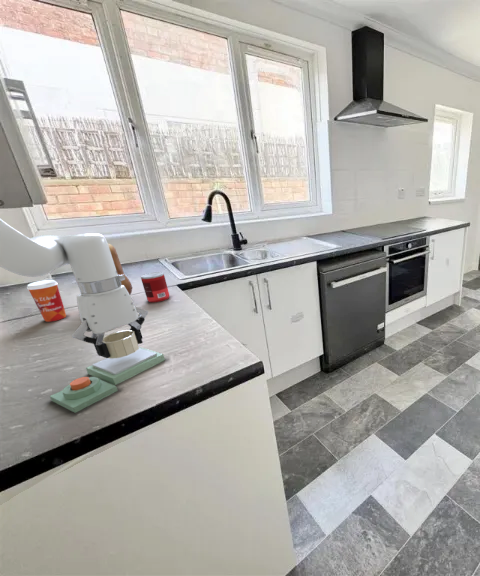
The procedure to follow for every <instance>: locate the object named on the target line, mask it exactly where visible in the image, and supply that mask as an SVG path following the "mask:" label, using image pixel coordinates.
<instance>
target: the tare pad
mask: <svg viewBox="0 0 480 576" xmlns="http://www.w3.org/2000/svg"><path fill="white" fill-rule="evenodd" d="M88 377H89V376H88ZM89 379H90V382H91V384H90V385H89V386H87V387H85V388H83V389H80V390H74V391H73V390H72V388H71V386H70V383H69V384H68V385H67V386H65V387H64V388H63V389H62V390H59V391H57V392H55V393H54V394H51V395H49V398H50V401H51V402H53V403H55V404H56V405H59V406H61V407H63V408H65V409H67V410H68V411H71V413H72V412H73V413H75V414H76V413H78V412H80V411H82V410H83V409H86V408H87V407H89V406H91V405H93V404H95V403H98V402H99V401H101V400H102V399H104V398H106V397H108V396H111V395H113V394H114V393H117V392H118V387H117V386H116V385H114V384H111V383H109V382H106V381H104V380H101V379H99V378H96V377H94V376H90V377H89Z"/></svg>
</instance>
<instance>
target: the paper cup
mask: <svg viewBox="0 0 480 576" xmlns="http://www.w3.org/2000/svg"><path fill="white" fill-rule="evenodd" d="M58 285H59V282H57V281H56V280H55V279H43V280H36V281H33V282H30V283H29V284H27V285H26V286H27V287H26V290H28V292H29V293H30V295H31V297H32V300H33V301H34V303H35V305H36V307H37V309H38V311H39V313H40V314H41V317H42V319H43V320H44V321H45V322H47V323H49V322H50V323H51V322H56V321H60V320H63V319H65V318H66V317H67V314H66V310H65V306H64V302H63V299H62V296H61V293H60V289H59V286H58Z"/></svg>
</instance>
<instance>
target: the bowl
mask: <svg viewBox="0 0 480 576" xmlns="http://www.w3.org/2000/svg"><path fill="white" fill-rule="evenodd" d="M103 343H106V345H107V348H108V351H109V354H110V357H109V358H110V359H112V358H120V357H124V356H127V355H130V354H132V353H134V352H136V351H137V350H138V349H139V347H140V344H138V341H137V337H136V334H135V331H132V330H130V329H126V330H125V329H124V330H119V331H115V332H112V333H109V334H106V335H104V338H103Z"/></svg>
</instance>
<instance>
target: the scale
mask: <svg viewBox="0 0 480 576" xmlns="http://www.w3.org/2000/svg"><path fill="white" fill-rule="evenodd" d="M164 361H166V359H165V355H164V353H160V352H158V351H155V350H151V349H148V348H145V347H142V346H139V349H138V350H137V351H136V352H134V353H132V354H130V355H127V356H124V357H120V358H112V359H110V358H104V359H102V360H100V361H97V362H95V363H92V364H91V365H90V366H86V367H85V369H86V372H87V374H88V375H89V376H90V377H96V378H99V379H100V380H102V381H105V382H107V383H110V384H112V385H115V386H116V385H119V384H121V383H123V382H125V381H126V380H129V379H130V378H132V377H135V376H136V375H139V374H141V373H142V372H145V371H146V370H149V369H150V368H153V367H154V366H156V365H158V364H161V363H162V362H164Z"/></svg>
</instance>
